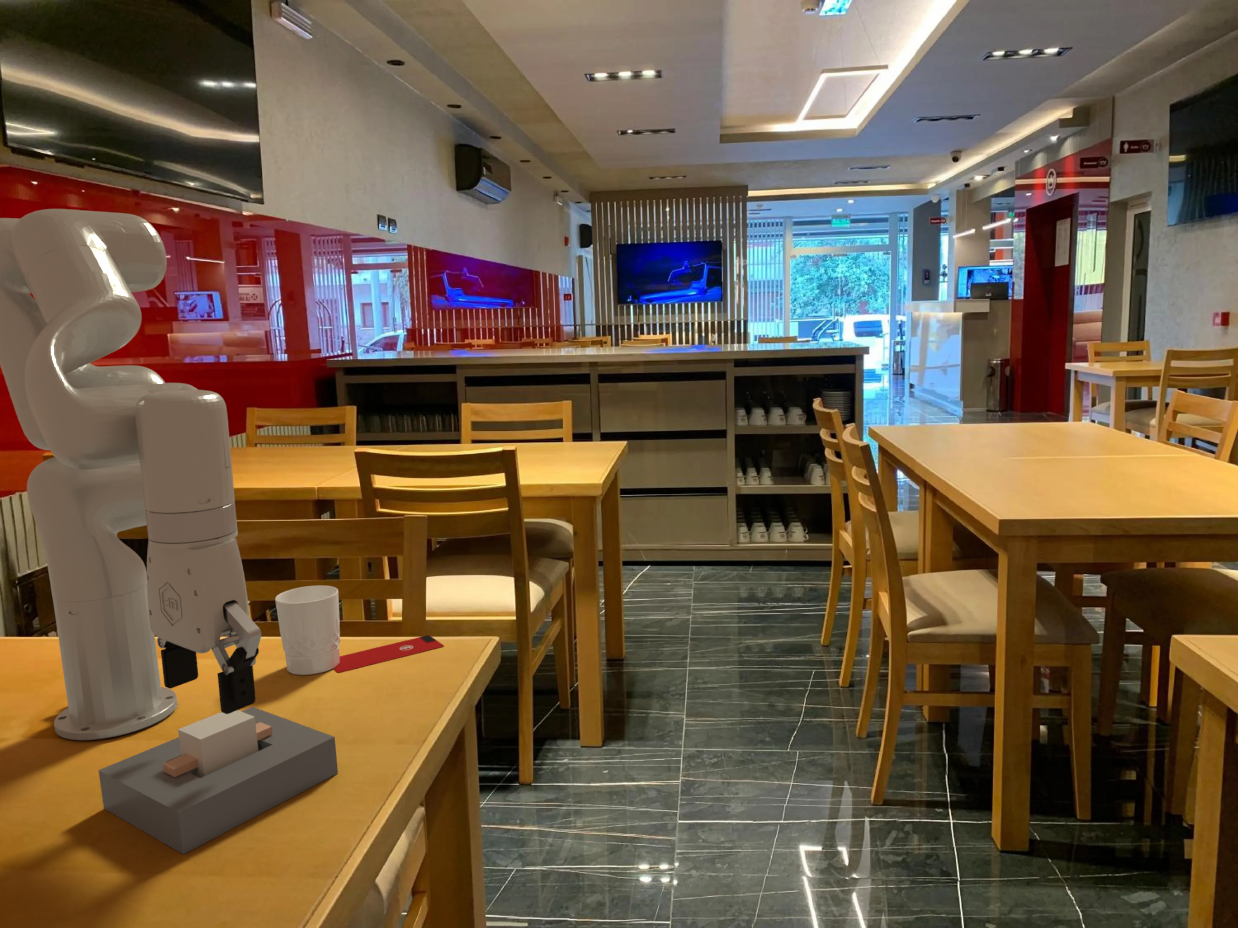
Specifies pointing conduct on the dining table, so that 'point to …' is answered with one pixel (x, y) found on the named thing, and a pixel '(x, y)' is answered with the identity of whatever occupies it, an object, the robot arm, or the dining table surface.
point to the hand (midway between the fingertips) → (209, 695)
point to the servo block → (216, 743)
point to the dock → (217, 784)
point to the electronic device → (387, 653)
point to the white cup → (309, 628)
